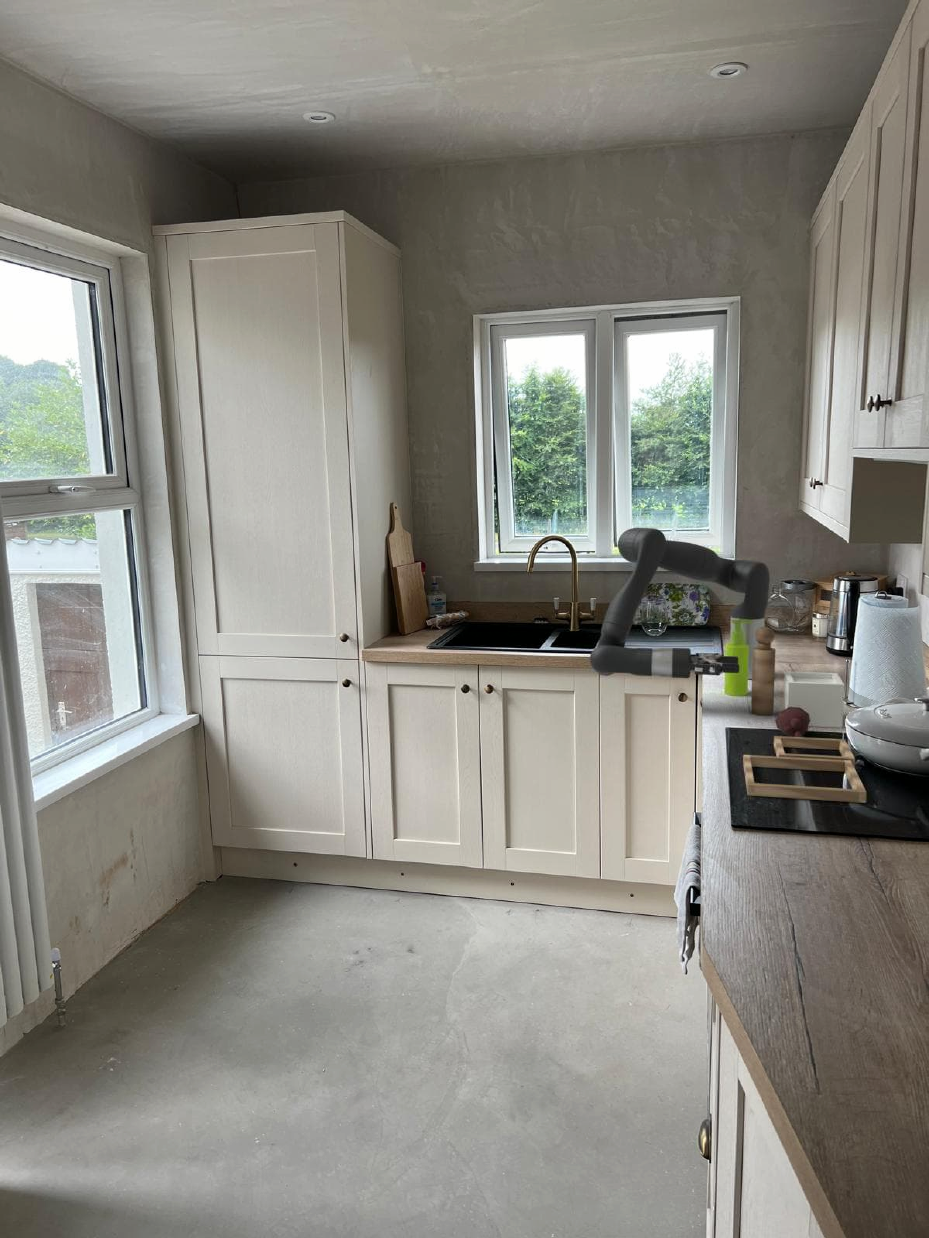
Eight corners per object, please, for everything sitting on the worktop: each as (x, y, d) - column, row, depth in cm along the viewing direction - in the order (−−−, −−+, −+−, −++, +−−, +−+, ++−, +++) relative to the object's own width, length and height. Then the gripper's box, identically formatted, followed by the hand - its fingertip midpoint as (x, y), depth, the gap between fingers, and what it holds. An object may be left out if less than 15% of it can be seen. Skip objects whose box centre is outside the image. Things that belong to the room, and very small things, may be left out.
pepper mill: (750, 709, 227) (753, 624, 224) (772, 710, 226) (775, 625, 222) (751, 715, 222) (754, 628, 219) (774, 716, 221) (777, 629, 218)
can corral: (773, 744, 199) (774, 735, 199) (844, 748, 195) (844, 739, 195) (778, 764, 186) (779, 754, 186) (854, 768, 183) (855, 758, 182)
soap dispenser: (752, 696, 240) (754, 621, 237) (725, 695, 241) (727, 621, 238) (750, 691, 246) (752, 617, 242) (723, 690, 247) (725, 617, 244)
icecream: (768, 699, 212) (777, 722, 198) (801, 692, 210) (812, 715, 196) (775, 727, 213) (784, 752, 199) (808, 720, 212) (819, 745, 197)
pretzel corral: (743, 764, 187) (743, 754, 186) (850, 770, 182) (850, 760, 181) (747, 795, 169) (747, 784, 169) (865, 802, 164) (866, 792, 164)
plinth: (782, 711, 225) (784, 671, 223) (834, 713, 222) (836, 673, 220) (787, 725, 213) (788, 682, 212) (842, 727, 210) (844, 684, 209)
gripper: (670, 653, 220) (740, 655, 216) (672, 642, 234) (738, 644, 230) (669, 684, 222) (739, 686, 218) (671, 671, 235) (737, 673, 231)
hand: (738, 664), depth 224 cm, fingers open, 8 cm apart
